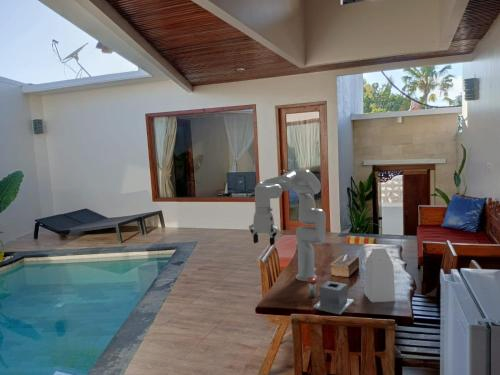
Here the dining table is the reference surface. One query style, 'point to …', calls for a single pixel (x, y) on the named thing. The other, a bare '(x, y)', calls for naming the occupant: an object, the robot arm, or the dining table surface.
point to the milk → (379, 276)
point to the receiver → (333, 298)
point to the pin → (312, 285)
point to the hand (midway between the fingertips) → (264, 243)
